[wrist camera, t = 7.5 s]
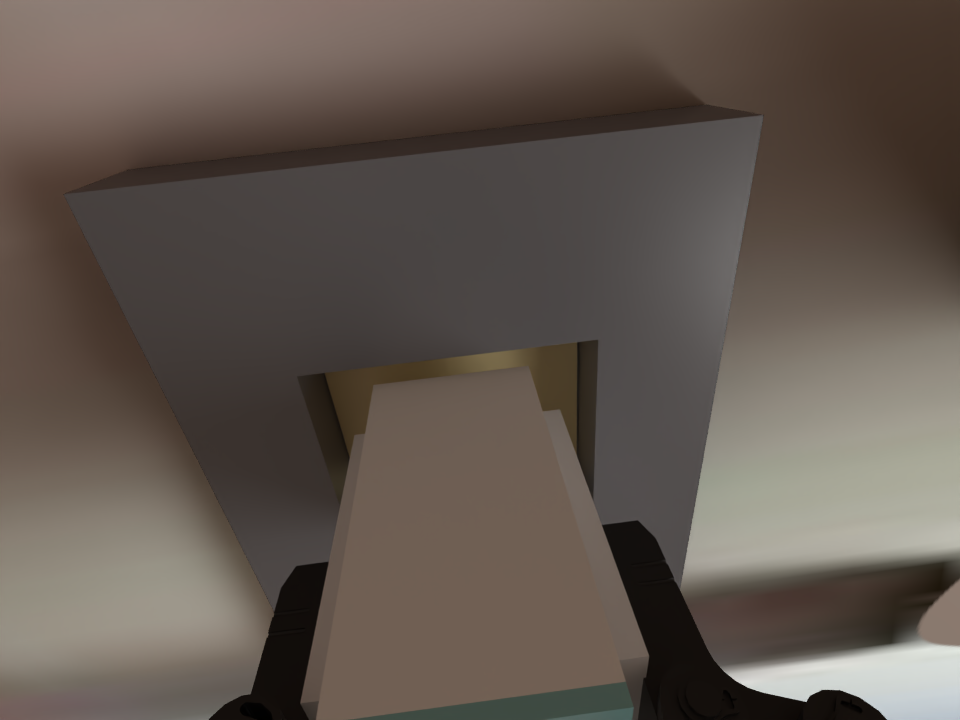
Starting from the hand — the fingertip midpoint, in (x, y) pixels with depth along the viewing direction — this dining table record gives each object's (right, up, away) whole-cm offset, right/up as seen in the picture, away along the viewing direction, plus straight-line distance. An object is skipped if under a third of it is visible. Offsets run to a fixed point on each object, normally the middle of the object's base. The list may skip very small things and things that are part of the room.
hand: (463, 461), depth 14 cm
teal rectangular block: (0, 0, 0) cm, 0 cm away
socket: (0, 0, +3) cm, 3 cm away
